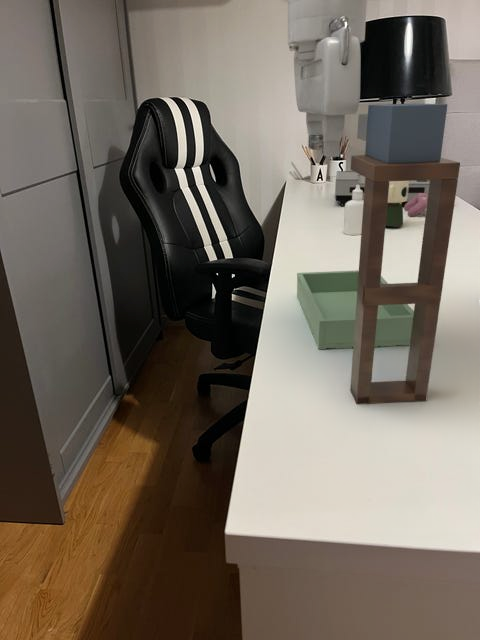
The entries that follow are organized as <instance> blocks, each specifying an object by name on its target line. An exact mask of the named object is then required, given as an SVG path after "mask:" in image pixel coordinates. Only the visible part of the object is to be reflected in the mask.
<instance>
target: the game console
mask: <svg viewBox="0 0 480 640" xmlns="http://www.w3.org/2000/svg"><path fill="white" fill-rule="evenodd" d="M365 178H366V177H364V176H362V175H360V174H358V173H356V172H354V171H352V170H336V176H335V185H334V186H335V187H334V199H335V202H341V207H342V208H345V204H346V203H347V202H348V201H351V200H352V192H353V190H355V189H356V185H360V190H362V191H363V194H362V200H364V189H365ZM429 184H430V180H417V181H409V187H408V197H407V201H405V202H402V206H403V208H404V206H405V204H406V203H408V202H409V201H410V200H412V199H413V198H414V197H415V196H416V195H418V194H419V193H425V194H427V195H428V192H429Z"/></svg>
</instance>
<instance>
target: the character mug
mask: <svg viewBox="0 0 480 640" xmlns="http://www.w3.org/2000/svg"><path fill="white" fill-rule="evenodd" d="M408 187H409V181H389V192H388V203H387V214H386V225H385V226H387V227H388V228H391V227H395V228H397V227H402V226H403V224H404V210H403V209H404V207H403V206H402V202H405V201H407V197H408Z"/></svg>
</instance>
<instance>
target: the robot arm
mask: <svg viewBox="0 0 480 640" xmlns="http://www.w3.org/2000/svg"><path fill="white" fill-rule="evenodd" d="M367 5H368V0H287V45H288V49H289V51H290V52H293V74H294V75H293V77H294V89H295V102H296V106H297V110H298V112H300V113H305V125H306V130H307V136H308V137H307V146H308V149H309V150H312V151H319V150H321V154H322V156H323V157H326V158H336V157H339V155H340V151H341V150H340V149H341V139H342V136H343V133H344V132H343V131H344V129H345V120H346V119H345V117H346V116H348V115H349V116H351V115H356V114H357V112H358V111H359V105H360V101H361V61H362V60H361V59H362V58H361V56H362V55H361V43H363V42H365V41H366V24H367V23H366V22H367Z"/></svg>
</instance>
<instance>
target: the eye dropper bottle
mask: <svg viewBox="0 0 480 640" xmlns="http://www.w3.org/2000/svg"><path fill="white" fill-rule="evenodd" d="M362 194H363V191H362V190H360V185H356V189H355V190H353V192H352V200H351V201H348V202H347V203H346V204H345V207H344V214H343V215H344V216H343V230H342V231H343V233H344V234H345V235H347V236H359V235H360V236H361V231H362V217H363V203H364V200H362Z"/></svg>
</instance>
